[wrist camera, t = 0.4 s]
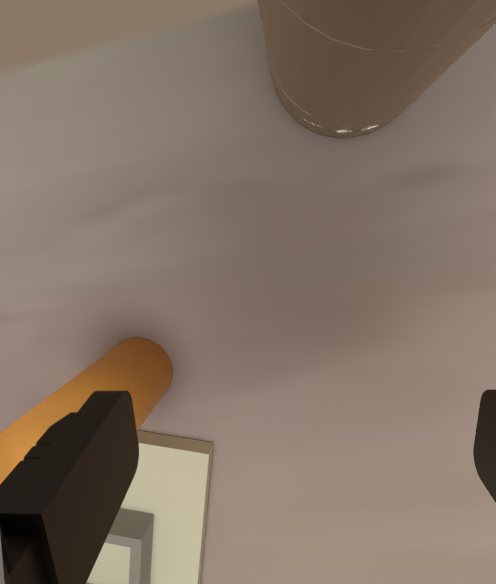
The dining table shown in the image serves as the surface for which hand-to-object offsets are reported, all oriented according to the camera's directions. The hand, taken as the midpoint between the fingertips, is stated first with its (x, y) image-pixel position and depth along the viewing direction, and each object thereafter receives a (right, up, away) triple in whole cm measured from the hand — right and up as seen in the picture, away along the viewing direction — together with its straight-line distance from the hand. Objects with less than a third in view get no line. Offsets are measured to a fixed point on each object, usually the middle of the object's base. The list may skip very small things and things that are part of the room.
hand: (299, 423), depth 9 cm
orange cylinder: (-9, -3, +21) cm, 23 cm away
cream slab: (-12, -16, +24) cm, 31 cm away
